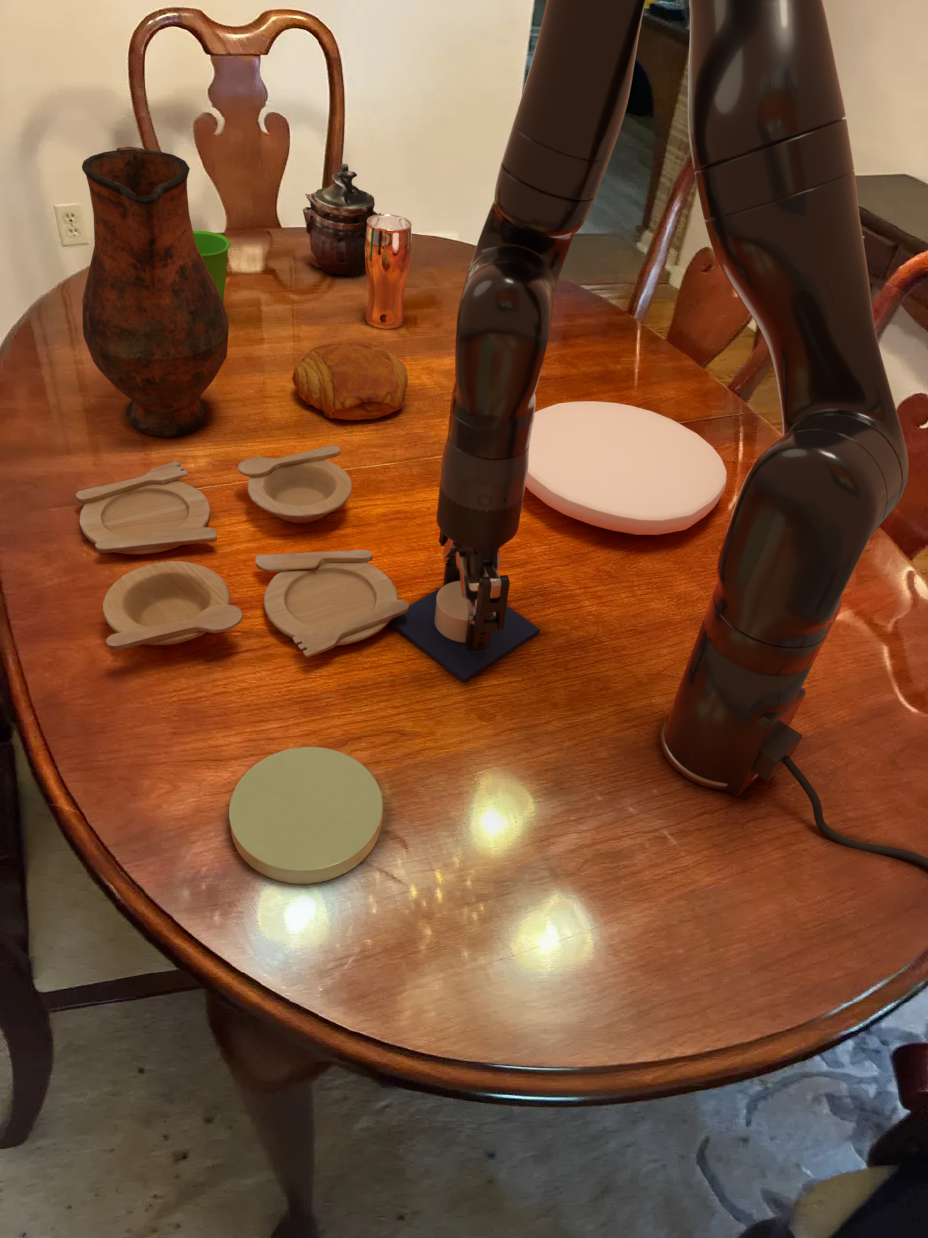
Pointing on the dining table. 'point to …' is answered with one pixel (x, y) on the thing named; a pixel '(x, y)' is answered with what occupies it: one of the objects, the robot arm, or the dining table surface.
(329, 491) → the tableware set
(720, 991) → the dining table surface
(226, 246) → the cup
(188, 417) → the pitcher
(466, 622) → the beige short cylinder
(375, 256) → the beer glass
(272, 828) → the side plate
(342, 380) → the croissant
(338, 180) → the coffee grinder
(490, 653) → the felt mat
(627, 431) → the white thick round disc
